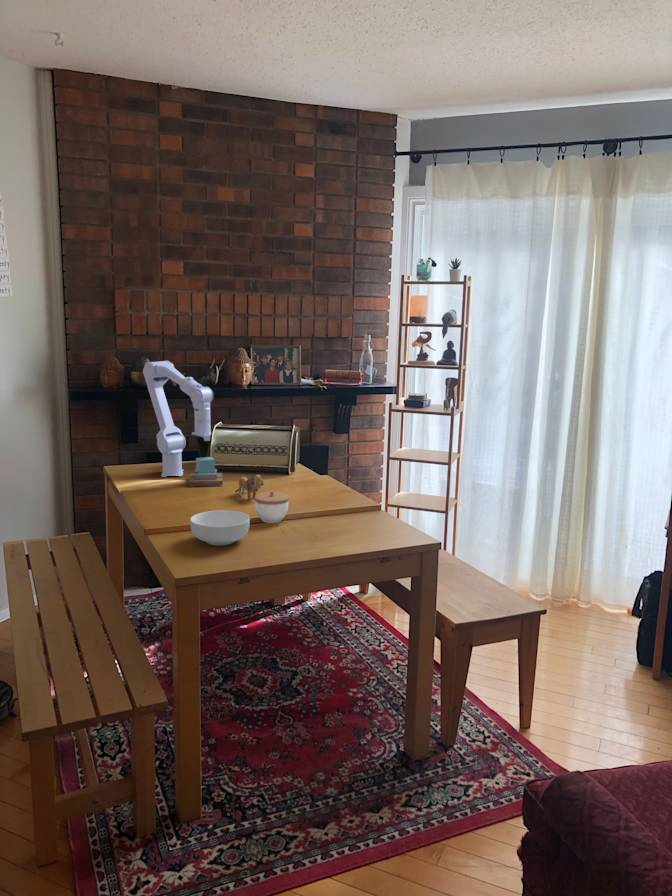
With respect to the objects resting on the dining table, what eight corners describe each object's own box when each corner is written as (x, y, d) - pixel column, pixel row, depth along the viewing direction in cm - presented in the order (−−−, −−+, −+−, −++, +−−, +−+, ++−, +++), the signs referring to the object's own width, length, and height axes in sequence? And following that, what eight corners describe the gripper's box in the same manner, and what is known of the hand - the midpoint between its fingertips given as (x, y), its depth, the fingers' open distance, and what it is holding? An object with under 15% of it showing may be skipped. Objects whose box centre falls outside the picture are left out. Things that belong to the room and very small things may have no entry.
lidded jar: (288, 525, 227) (288, 496, 225) (253, 525, 226) (253, 496, 224) (289, 515, 237) (289, 486, 235) (255, 515, 237) (255, 486, 235)
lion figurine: (267, 500, 254) (266, 475, 252) (254, 503, 250) (254, 477, 248) (241, 491, 264) (240, 467, 262) (228, 494, 260) (228, 469, 258)
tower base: (190, 478, 281) (190, 468, 280) (222, 477, 283) (222, 467, 282) (189, 486, 269) (188, 476, 268) (222, 486, 271) (222, 475, 270)
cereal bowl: (262, 541, 212) (261, 517, 211) (216, 555, 200) (216, 530, 199) (224, 528, 224) (223, 505, 222) (178, 541, 211) (178, 517, 210)
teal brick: (196, 471, 276) (195, 458, 275) (212, 469, 278) (211, 456, 277) (199, 474, 272) (198, 460, 271) (215, 472, 274) (214, 459, 273)
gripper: (187, 417, 276) (188, 453, 279) (195, 424, 263) (196, 461, 266) (206, 416, 279) (207, 451, 282) (215, 423, 266) (216, 460, 268)
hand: (203, 456), depth 274 cm, fingers closed
